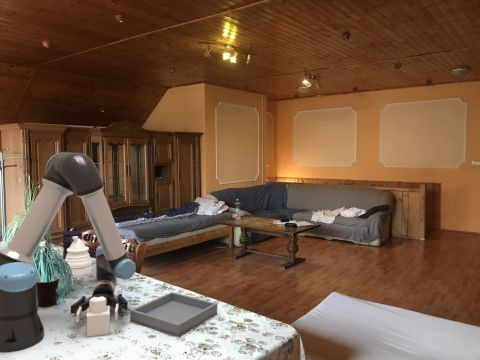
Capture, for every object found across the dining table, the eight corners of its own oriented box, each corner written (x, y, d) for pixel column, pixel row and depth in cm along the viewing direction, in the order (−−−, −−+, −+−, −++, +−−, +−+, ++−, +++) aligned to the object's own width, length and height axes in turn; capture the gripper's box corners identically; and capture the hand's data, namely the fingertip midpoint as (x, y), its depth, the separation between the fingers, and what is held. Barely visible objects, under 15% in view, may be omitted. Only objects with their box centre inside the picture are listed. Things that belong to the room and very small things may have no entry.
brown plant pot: (49, 309, 149) (49, 283, 148) (29, 307, 151) (29, 281, 150) (69, 298, 160) (68, 274, 160) (50, 296, 162) (49, 272, 161)
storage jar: (84, 260, 216) (83, 233, 215) (64, 262, 211) (63, 234, 210) (81, 256, 224) (80, 229, 223) (62, 258, 219) (61, 231, 218)
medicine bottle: (87, 327, 134) (87, 293, 133) (110, 325, 136) (109, 291, 135) (86, 337, 127) (85, 300, 126) (109, 334, 130) (109, 298, 129)
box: (130, 321, 140) (130, 310, 139) (171, 301, 158) (171, 291, 158) (178, 337, 128) (178, 325, 128) (217, 314, 147) (217, 303, 147)
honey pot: (83, 276, 188) (82, 239, 186) (58, 275, 190) (57, 238, 188) (96, 269, 200) (96, 233, 199) (73, 267, 202) (72, 232, 201)
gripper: (136, 300, 152) (134, 325, 131) (70, 305, 146) (57, 331, 125) (136, 281, 151) (134, 302, 130) (70, 285, 146) (57, 308, 125)
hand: (97, 316), depth 128 cm, fingers open, 11 cm apart
